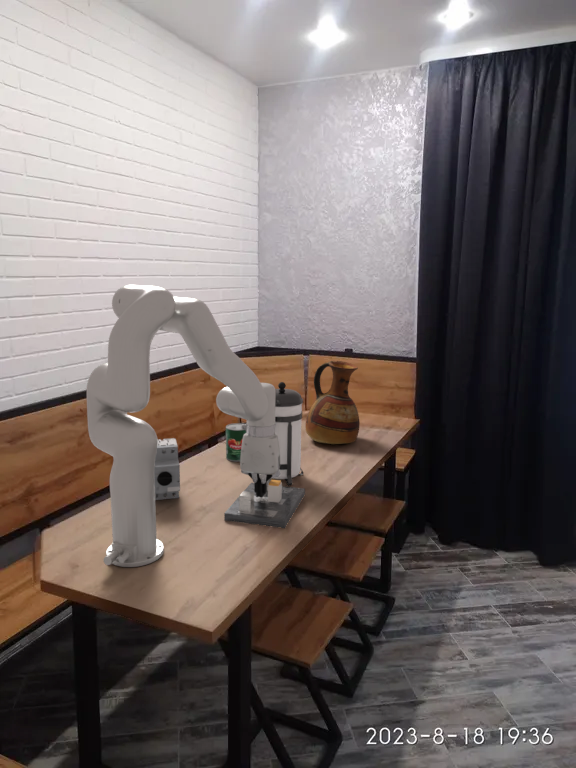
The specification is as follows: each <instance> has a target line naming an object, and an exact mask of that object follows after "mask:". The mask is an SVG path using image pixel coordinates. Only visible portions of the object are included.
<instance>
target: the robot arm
mask: <svg viewBox="0 0 576 768" xmlns="http://www.w3.org/2000/svg"><path fill="white" fill-rule="evenodd" d="M111 308H112V311H113V313H114V314H115V316H116V317H117V318H118V319H117V320H116V321H115V323H114V325H113V327H112V328H111V331H110V334H109V337H108V344H107V345H108V346H107V362H106V363H102V364H100V365H98V366H97V367H95V368H94V370H92V372H91V374H90V375H89V377H88V380H87V384H86V416H87V431H88V436H89V439H90V441H91V443H92V445H93V446H94V447H96V448H97V449H98V450H100V451H101V452H103V453H106V454H108V455H110V456H111V457H112V458H113V461H112V466H111V469H110V475H109V492H110V512H111V529H112V530H111V532H112V543H111V544H110V545H109V546H108V548H107V549H106V550H105V556H104V558H103V563H104V564H105V565H106V566H110V565H114V566H117V567H121V568H122V567H123V568H135V567H136V568H137V567H143V566H145V565H150V564H151V563H154V562H155V561H157V560H158V559H160V558H161V557H162V556H163V555H164V552H165V549H164V546H165V545H164V544H163V542H162V541H161V540H159V539H158V538H157V517H156V516H157V514H156V500H155V482H154V467H155V458H156V452H157V444H158V441H157V439H158V436H157V433H156V431H155V429H154V428H153V426H151V424H149V423H148V422H146V421H145V420H143V419H141V418H138V417H136V416H133V415H130V414H128V413H138V412H141V411H143V410H144V409H145V408H146V407H147V406H148V403H149V402H150V397H151V372H150V371H151V369H150V368H151V367H150V364H151V363H150V357H151V355H150V353H151V345H152V341H153V340H154V337H155V335H156V334H157V333H158V332H159V331H162V332H168V333H173V334H179V335H180V337H181V338H182V340H183V341H184V343H185V344H186V346H187V348H188V349H189V351H190V353H191V355H192V357H193V359H194V360H195V362H196V364H197V366H198V367H199V368H200V369H201V370H202V371H204V372H205V373H206V374H207V375H209V376H210V377H212V378H215V379H216V380H217V381H219V382H221V383H222V384H223V385H224V386H225V387H223V388H222V389H220V390H219V392H218V393H217V394H216V397H215V398H216V399H215V402H216V407H217V408H218V409H219V411H221V412H222V413H224V414H225V415H229V416H232V417H235V418H239V419H242V420H246V423H241V424H242V429H244V430H246V433H245V434H244V435H243V440H242V447H241V458H240V462H239V466H240V467H239V469H240V472H241V474H244V475H247V476H248V477H250V478H251V480H252V483H254V492H255V493H256V497H261V498H262V497H263V496H264V494H266V492H267V481H268V480H269V479H270V478H271V479H274V477H279V476H280V474H281V473H280V469H279V468H280V448H279V441H278V436H277V434H275V398H276V392H275V389H276V388H275V386H274V385H273V384H272V383H268V382H260V379H259V378H258V376H257V375H256V374H255V373H254V371H253V370H252V369H251V368H250V367H249V366H248V365H247V364H246V363H245V362H244V361H243V359H241V358H240V356H238V355H237V354H236V353H235V352H234V351H233V350H232V349H231V348H230V345H229V344H228V342H227V341H226V338H225V337H224V335H223V333H222V331H221V329H220V327H219V324H218V323H217V322H216V320H215V317H214V316H213V313H212V312H211V309H210V308H209V306H208V305H207V304H206V303H205V302H204V301H202V300H200V299H197V298H193V297H192V298H191V297H180V296H174V295H173V294H172V292H171V291H169V290H168V289H166V288H163V287H160V286H156V285H139V284H127V285H124V286H121V287H120V288H118V289H117V290H116V291H115V293H114V295H112V298H111ZM260 474H262V480H261V478H260Z"/></svg>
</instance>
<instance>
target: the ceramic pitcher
mask: <svg viewBox="0 0 576 768" xmlns="http://www.w3.org/2000/svg"><path fill="white" fill-rule="evenodd" d="M328 367H329V368H330V369H331V372H332V382H331V386H330V388H329V389H328V391H327V392H323V391H322V387H321V377H322V374H323V371H324V370H325V369H326V368H328ZM357 370H358V366H356V365H355V364H352V363H349V362H346V361H342V360H341V361H340V360H331V361H328V362H324V363H322V364H321V365H319V366H318V368H316V371H315V373H314V376H313V387H314V391H315V395H316V396H315V397H316V398H315V401H314V402H313V404H312V405H311V407H310V408H309V411H308V413H307V415H306V420H305V426H304V427H305V432H306V435H307V436H309V438H310V439H312V440H313V441H315V442H318V443H321V444H328V445H330V444H331V445H343V444H351V443H354V442H355V441H356V440H357V439H358V436H359V431H360V426H361V423H360V416H359V415H360V414H359V411H358V407H357V405H356V403H355V402H354V400H353V399H352V398H351V397H350V396H349V395H350V394H349V389H348V388H349V385H350V379H351V377H352V375H353V373H354V372H355V371H357Z"/></svg>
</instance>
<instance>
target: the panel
mask: <svg viewBox="0 0 576 768" xmlns="http://www.w3.org/2000/svg"><path fill="white" fill-rule="evenodd" d="M260 478H261V480H262V474H260ZM271 480H272V478H270V479H269V480H268V481H267V492H266V494H264V496H263V497H262V498H261V497H256V493H255V492H254V482H250V484H249V485H248V486H247V487H246V488H245V489H244V490H243V491H242V492H241V493H240V494H239V496H238V497H237V498H236V499H235V500H234V501H233V502H232V504H231V505H230V506H229V507H228V508H227V509H226V510H225V512H224V513H223V515H224V517H223V518H224V520H223V521H225V522H233V523H240V524H248V525H255V524H259V525H258V526H263V525H266V526H265V527H270V526H272V527H271V528H278V527H281V528H280V529H286V527H287V526H286V525H288V524H289V522H290V521H291V519H292V517H293V516H294V514H295V512H296V511H295V510H297V509H298V507H299V506H300V504H301V503H302V501H303V499H304V498H305V496H306V488H303V487H302V488H301V487H293V486H287V485H285V486H284V485H282V498H281V500H280V501H279V503H278V502H269V501H268V485H269V482H270V481H271ZM304 495H305V496H304ZM303 497H304V498H303ZM302 498H303V499H302ZM301 500H302V501H301ZM299 503H300V504H299ZM298 505H299V506H298ZM296 508H297V509H296ZM293 513H294V514H293ZM292 515H293V516H292ZM290 518H291V519H290ZM289 520H290V521H289ZM287 523H288V524H287Z"/></svg>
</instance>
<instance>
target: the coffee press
mask: <svg viewBox="0 0 576 768" xmlns="http://www.w3.org/2000/svg"><path fill="white" fill-rule="evenodd" d="M277 386H278V388H275V392H276V398H275V434H277V436H278V441H279V448H280V468H279V469H280V473H281V474H280V476H279V477H274V478H273V480H284V481H285V483H286V486H287V485H288V486H287V487H290V486H293V478H295V477H297V476H301V475H302V476H304V471H303V469H302V468H301V463H302V461H301V459H302V457H301V456H302V453H301V452H302V445H301V444H302V419H303V407H302V405H303V403H304V398H303V397H302V395H301V393H299V392H298V391H297V390H295V389H290V388H286V387H287V386H286V383H285V382H284V381H280V382H279V383H278V385H277ZM300 472H301V473H300ZM289 485H290V486H289Z"/></svg>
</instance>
